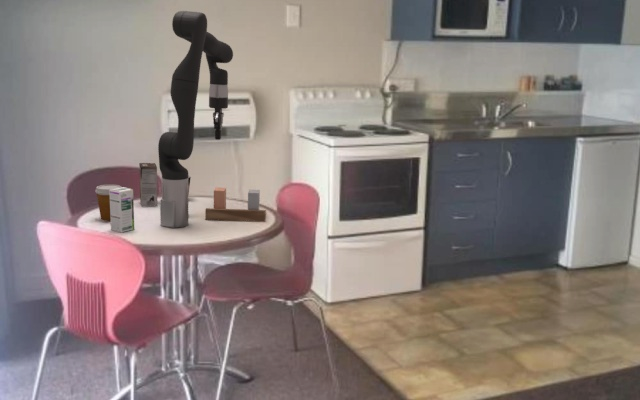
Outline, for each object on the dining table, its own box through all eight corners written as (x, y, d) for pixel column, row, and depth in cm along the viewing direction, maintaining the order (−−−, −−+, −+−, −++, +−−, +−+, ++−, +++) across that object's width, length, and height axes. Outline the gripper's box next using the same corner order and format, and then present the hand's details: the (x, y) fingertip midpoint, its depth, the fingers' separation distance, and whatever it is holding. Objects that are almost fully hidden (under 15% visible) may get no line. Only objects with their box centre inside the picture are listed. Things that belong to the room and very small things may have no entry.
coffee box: (139, 201, 274) (139, 162, 271) (156, 201, 276) (155, 162, 273) (141, 207, 266) (140, 166, 262) (157, 206, 268) (157, 166, 264)
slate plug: (248, 214, 259) (249, 189, 257) (259, 215, 259) (259, 189, 257) (247, 218, 253) (248, 192, 251) (258, 219, 253) (258, 193, 251)
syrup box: (121, 232, 229) (120, 191, 226) (110, 229, 232) (109, 188, 229) (134, 229, 234) (133, 188, 230) (123, 226, 237) (122, 186, 234)
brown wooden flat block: (209, 212, 262) (209, 202, 261) (266, 213, 263) (266, 204, 262) (205, 219, 250) (205, 209, 249) (264, 221, 251) (264, 211, 250)
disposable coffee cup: (126, 216, 251) (126, 184, 248) (118, 222, 241) (117, 190, 239) (101, 215, 251) (100, 183, 248) (92, 221, 242) (91, 189, 239)
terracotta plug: (215, 212, 260) (215, 187, 258) (225, 212, 261) (226, 187, 258) (213, 216, 255) (213, 190, 252) (224, 216, 255) (224, 191, 252)
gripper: (211, 94, 274) (210, 137, 277) (207, 96, 261) (206, 141, 264) (229, 95, 274) (228, 137, 278) (226, 97, 261) (225, 141, 265)
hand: (217, 139), depth 271 cm, fingers closed
